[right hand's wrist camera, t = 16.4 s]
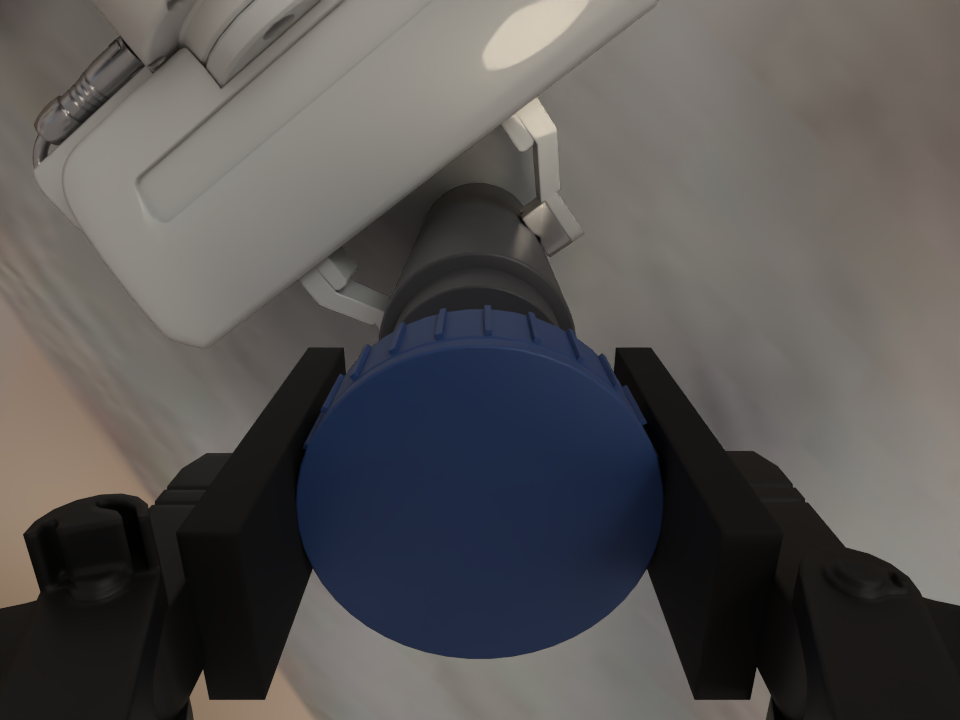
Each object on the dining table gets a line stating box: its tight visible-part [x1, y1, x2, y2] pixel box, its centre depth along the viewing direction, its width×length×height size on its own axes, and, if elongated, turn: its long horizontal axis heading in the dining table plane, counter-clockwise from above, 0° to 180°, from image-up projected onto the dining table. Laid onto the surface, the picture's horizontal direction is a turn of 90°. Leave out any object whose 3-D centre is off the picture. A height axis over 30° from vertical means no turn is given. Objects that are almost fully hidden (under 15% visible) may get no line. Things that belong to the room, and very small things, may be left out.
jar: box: [379, 183, 576, 341], centre depth 22 cm, size 5×5×15 cm
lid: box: [296, 305, 664, 659], centre depth 11 cm, size 6×6×2 cm
